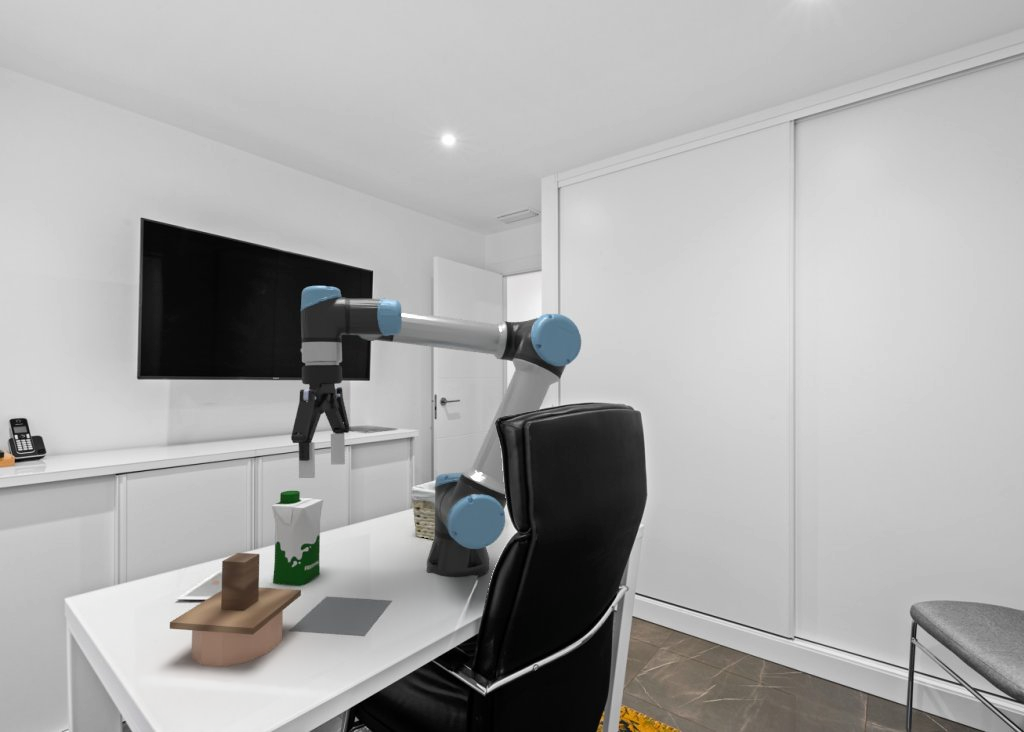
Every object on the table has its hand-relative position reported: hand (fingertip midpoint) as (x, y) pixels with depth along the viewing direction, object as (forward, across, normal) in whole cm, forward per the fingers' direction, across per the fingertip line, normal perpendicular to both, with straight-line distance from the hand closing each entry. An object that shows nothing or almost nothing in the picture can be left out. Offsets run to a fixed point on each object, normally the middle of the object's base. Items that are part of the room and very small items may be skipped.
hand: (323, 470), depth 100 cm
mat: (+28, +4, +6) cm, 28 cm away
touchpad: (+28, -8, -28) cm, 40 cm away
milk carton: (+28, -12, -12) cm, 32 cm away
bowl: (+27, +16, -8) cm, 32 cm away
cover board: (+21, +15, -8) cm, 27 cm away
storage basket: (+29, -53, +16) cm, 62 cm away
